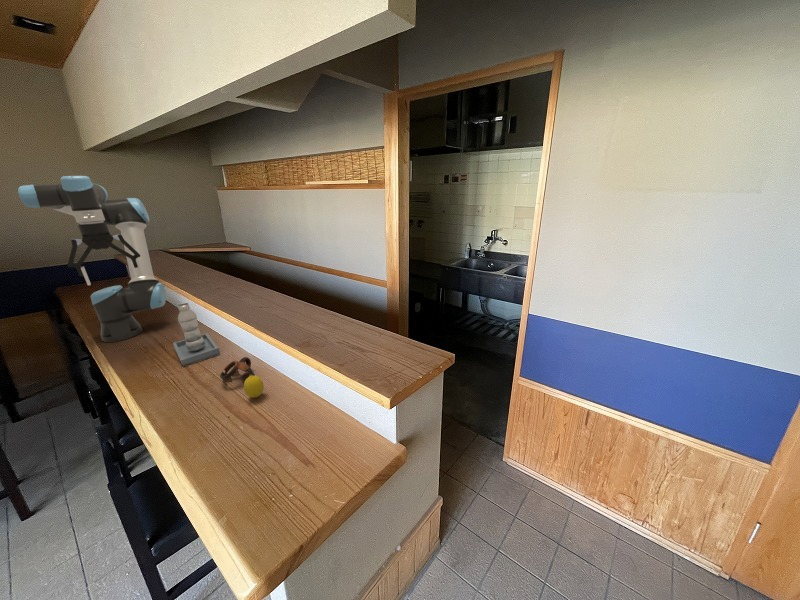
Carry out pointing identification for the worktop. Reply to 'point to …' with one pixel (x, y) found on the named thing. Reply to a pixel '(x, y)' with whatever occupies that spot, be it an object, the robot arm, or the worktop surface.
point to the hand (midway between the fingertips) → (113, 280)
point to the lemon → (253, 386)
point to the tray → (195, 356)
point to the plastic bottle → (190, 328)
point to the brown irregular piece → (236, 369)
